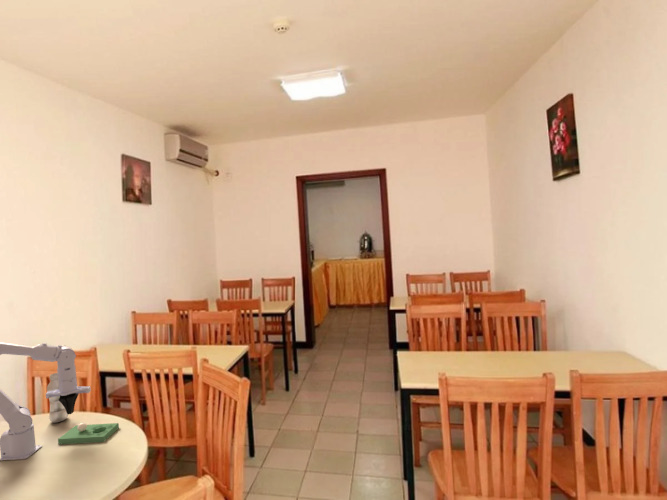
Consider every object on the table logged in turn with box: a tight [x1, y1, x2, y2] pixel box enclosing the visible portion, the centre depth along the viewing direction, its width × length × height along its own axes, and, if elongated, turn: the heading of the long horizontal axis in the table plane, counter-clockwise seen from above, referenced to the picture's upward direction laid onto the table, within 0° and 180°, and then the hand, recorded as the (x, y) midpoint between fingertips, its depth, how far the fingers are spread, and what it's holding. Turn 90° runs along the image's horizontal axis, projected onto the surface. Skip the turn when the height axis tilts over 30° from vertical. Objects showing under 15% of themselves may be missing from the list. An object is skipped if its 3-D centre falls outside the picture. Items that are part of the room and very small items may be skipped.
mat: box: [57, 422, 120, 445], centre depth 148 cm, size 17×10×2 cm, turn 90°
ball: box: [77, 422, 88, 432], centre depth 148 cm, size 3×3×3 cm
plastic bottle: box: [46, 372, 69, 424], centre depth 162 cm, size 6×7×20 cm
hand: (70, 413), depth 148 cm, fingers closed
